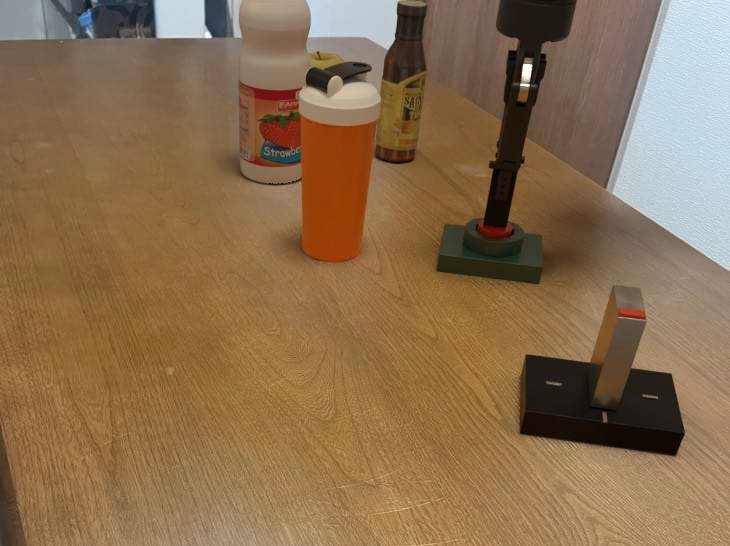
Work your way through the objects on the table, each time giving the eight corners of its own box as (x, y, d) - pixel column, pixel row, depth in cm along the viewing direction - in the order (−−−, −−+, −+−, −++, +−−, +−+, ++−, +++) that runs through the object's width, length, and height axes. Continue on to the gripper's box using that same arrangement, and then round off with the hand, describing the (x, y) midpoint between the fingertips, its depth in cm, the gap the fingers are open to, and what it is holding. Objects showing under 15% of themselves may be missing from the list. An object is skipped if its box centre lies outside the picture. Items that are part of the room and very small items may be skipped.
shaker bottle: (383, 250, 106) (401, 70, 92) (334, 273, 101) (346, 85, 87) (328, 227, 110) (337, 51, 96) (279, 248, 105) (281, 65, 91)
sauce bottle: (403, 167, 126) (420, 11, 113) (366, 157, 129) (379, 2, 115) (423, 154, 131) (442, 2, 117) (387, 145, 133) (402, -5, 119)
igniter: (538, 251, 108) (545, 220, 105) (538, 284, 101) (546, 252, 99) (442, 240, 109) (446, 208, 106) (436, 272, 102) (441, 239, 100)
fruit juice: (273, 155, 127) (276, -77, 108) (320, 174, 123) (331, -64, 104) (225, 170, 122) (219, -71, 103) (272, 191, 118) (275, -57, 98)
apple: (292, 93, 149) (294, 41, 144) (349, 97, 149) (352, 45, 144) (288, 112, 142) (289, 57, 136) (348, 116, 142) (351, 62, 136)
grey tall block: (586, 372, 83) (613, 281, 77) (612, 375, 83) (641, 285, 76) (590, 407, 79) (618, 314, 72) (616, 410, 78) (648, 318, 72)
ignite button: (510, 234, 104) (512, 220, 103) (509, 248, 102) (512, 234, 100) (476, 230, 105) (479, 216, 104) (475, 244, 102) (477, 230, 101)
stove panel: (663, 394, 85) (672, 371, 84) (676, 456, 78) (686, 432, 76) (520, 375, 87) (526, 351, 85) (519, 434, 79) (525, 410, 77)
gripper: (503, -27, 91) (466, 198, 107) (500, -1, 81) (460, 242, 97) (576, -20, 90) (527, 205, 106) (581, 8, 81) (527, 250, 97)
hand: (495, 223), depth 102 cm, fingers closed
